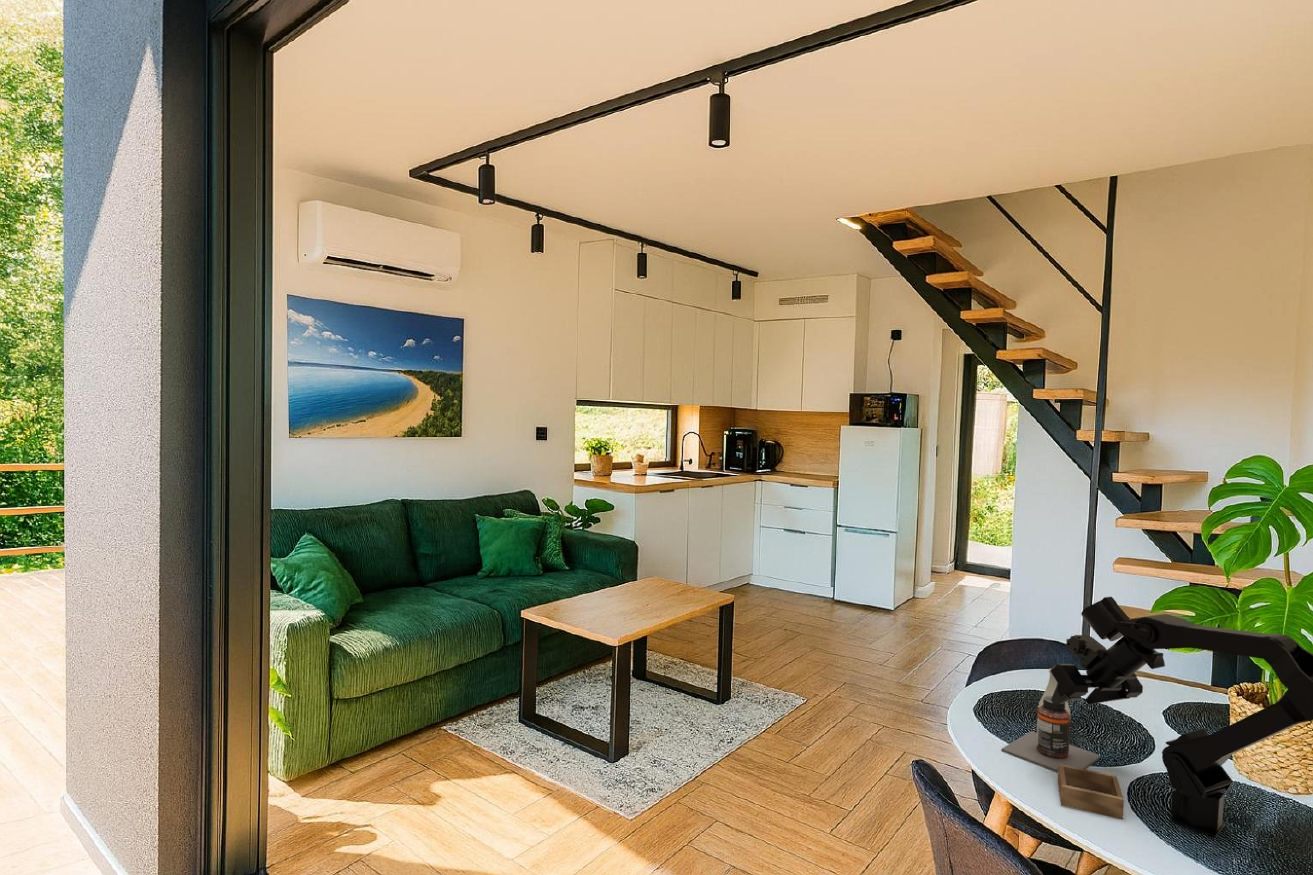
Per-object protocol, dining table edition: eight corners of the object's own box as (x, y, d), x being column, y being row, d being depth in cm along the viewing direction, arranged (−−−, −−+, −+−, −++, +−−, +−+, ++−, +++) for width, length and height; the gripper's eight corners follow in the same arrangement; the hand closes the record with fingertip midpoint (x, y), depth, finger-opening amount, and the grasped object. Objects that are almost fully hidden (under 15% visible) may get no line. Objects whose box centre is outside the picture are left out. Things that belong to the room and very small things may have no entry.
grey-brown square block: (1100, 757, 152) (1100, 755, 152) (1072, 778, 143) (1073, 775, 143) (1030, 733, 163) (1031, 731, 163) (1001, 750, 154) (1001, 748, 154)
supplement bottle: (1053, 744, 156) (1056, 692, 156) (1075, 758, 150) (1078, 703, 150) (1029, 747, 155) (1032, 694, 154) (1050, 760, 149) (1053, 705, 149)
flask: (1075, 719, 171) (1078, 677, 170) (1042, 716, 172) (1044, 674, 172) (1065, 707, 178) (1067, 666, 178) (1033, 704, 179) (1035, 663, 179)
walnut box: (1115, 793, 138) (1116, 775, 138) (1122, 819, 129) (1124, 799, 129) (1057, 781, 142) (1058, 763, 142) (1060, 805, 133) (1061, 786, 133)
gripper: (1131, 625, 149) (1081, 667, 159) (1060, 622, 143) (1013, 666, 153) (1167, 675, 141) (1113, 715, 151) (1094, 674, 135) (1042, 716, 145)
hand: (1070, 702), depth 150 cm, fingers open, 9 cm apart
